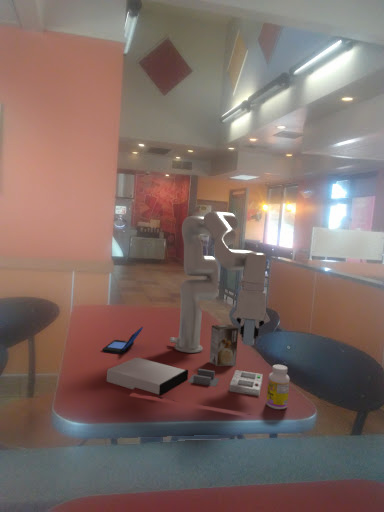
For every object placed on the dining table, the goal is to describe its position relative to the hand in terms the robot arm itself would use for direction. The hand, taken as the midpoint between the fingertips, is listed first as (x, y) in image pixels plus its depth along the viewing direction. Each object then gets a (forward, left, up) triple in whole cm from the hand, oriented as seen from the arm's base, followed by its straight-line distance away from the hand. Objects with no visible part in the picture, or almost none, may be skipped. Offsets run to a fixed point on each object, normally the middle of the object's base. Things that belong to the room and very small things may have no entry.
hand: (249, 336), depth 150 cm
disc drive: (-33, -13, -18) cm, 40 cm away
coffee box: (-11, +16, -18) cm, 27 cm away
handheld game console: (-56, +19, -18) cm, 61 cm away
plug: (0, 0, -2) cm, 2 cm away
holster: (-14, -6, -17) cm, 23 cm away
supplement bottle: (+12, -15, -18) cm, 26 cm away
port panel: (+1, -4, -17) cm, 18 cm away
